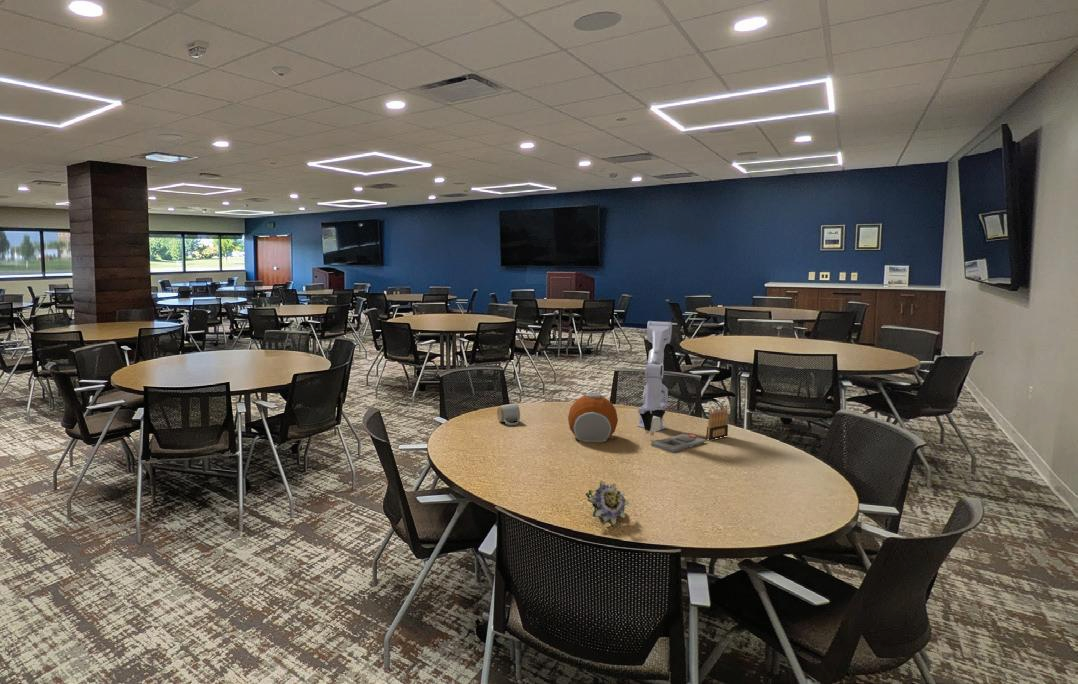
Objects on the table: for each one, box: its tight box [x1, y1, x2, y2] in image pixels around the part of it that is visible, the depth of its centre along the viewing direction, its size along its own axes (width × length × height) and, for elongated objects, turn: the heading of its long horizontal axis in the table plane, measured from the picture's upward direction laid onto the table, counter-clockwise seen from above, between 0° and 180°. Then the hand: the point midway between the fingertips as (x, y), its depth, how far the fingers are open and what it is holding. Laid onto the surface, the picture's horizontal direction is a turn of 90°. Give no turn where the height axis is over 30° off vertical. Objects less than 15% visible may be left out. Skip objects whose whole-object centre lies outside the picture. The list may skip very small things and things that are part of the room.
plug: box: [642, 416, 661, 436], centre depth 221 cm, size 4×4×7 cm
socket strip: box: [650, 433, 707, 453], centre depth 216 cm, size 10×20×2 cm, turn 130°
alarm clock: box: [567, 392, 619, 443], centre depth 221 cm, size 19×18×17 cm
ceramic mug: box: [496, 402, 521, 426], centre depth 240 cm, size 11×8×8 cm
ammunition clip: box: [705, 406, 729, 441], centre depth 225 cm, size 11×2×12 cm, turn 124°
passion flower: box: [585, 480, 630, 526], centre depth 151 cm, size 11×11×12 cm
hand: (651, 429), depth 221 cm, fingers closed on plug, 4 cm apart
